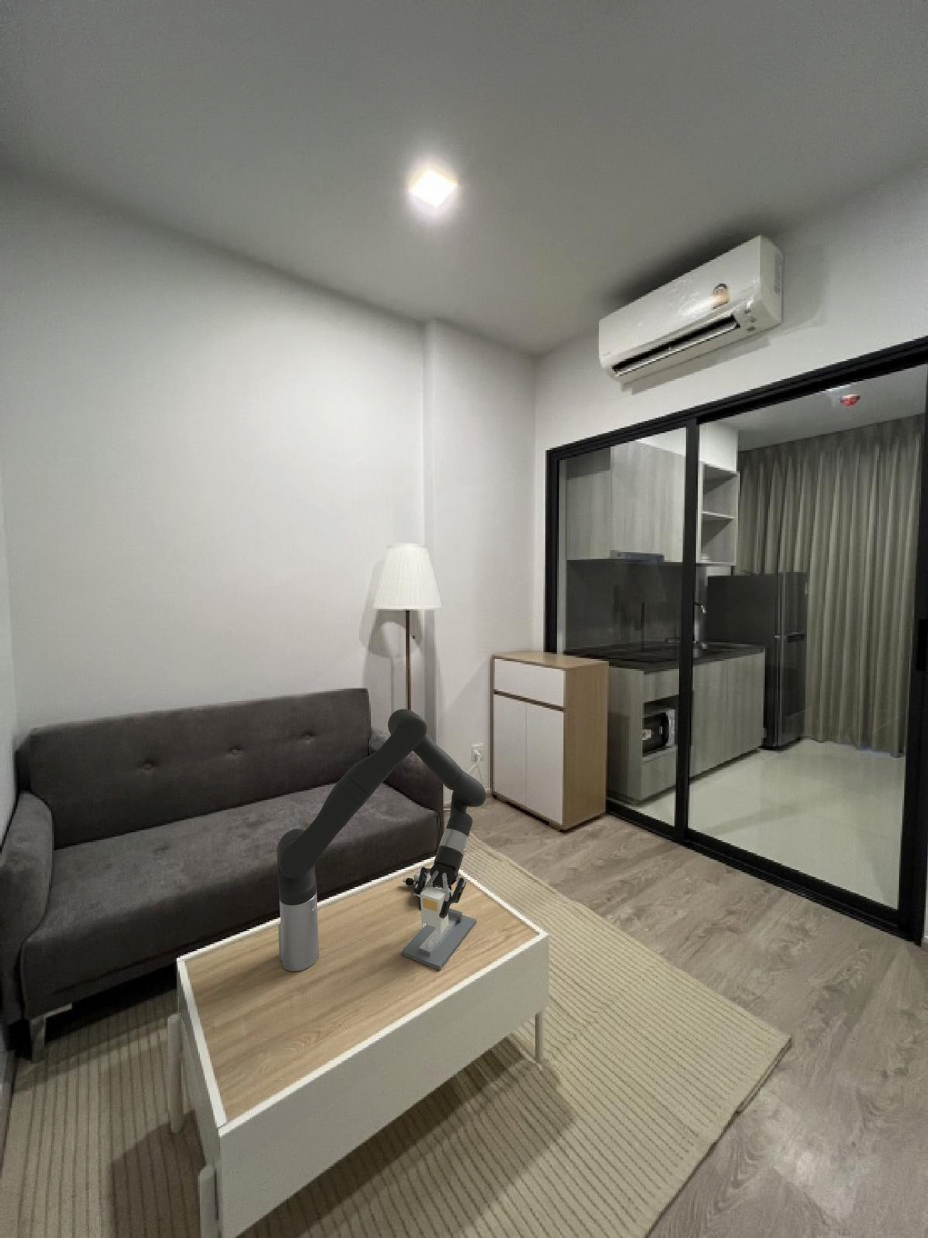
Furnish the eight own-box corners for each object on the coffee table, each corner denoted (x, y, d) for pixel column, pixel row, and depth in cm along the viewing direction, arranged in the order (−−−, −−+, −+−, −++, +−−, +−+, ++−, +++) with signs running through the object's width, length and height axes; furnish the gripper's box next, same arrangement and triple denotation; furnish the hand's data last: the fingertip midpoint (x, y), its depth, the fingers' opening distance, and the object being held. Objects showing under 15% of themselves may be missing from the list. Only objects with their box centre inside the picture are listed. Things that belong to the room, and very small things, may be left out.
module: (421, 928, 130) (419, 894, 130) (429, 918, 134) (428, 885, 133) (440, 934, 127) (439, 900, 127) (448, 925, 131) (447, 891, 130)
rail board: (401, 954, 127) (401, 951, 127) (440, 910, 145) (440, 907, 145) (440, 970, 122) (440, 966, 122) (476, 922, 139) (476, 919, 139)
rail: (416, 950, 127) (416, 941, 127) (447, 914, 142) (446, 906, 141) (433, 956, 125) (432, 947, 125) (462, 920, 139) (462, 912, 139)
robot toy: (400, 889, 158) (421, 910, 145) (399, 875, 158) (420, 894, 146) (433, 876, 165) (456, 895, 152) (432, 863, 165) (455, 881, 152)
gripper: (425, 839, 140) (402, 903, 130) (469, 850, 133) (448, 918, 123) (435, 848, 145) (414, 910, 135) (478, 859, 138) (459, 925, 128)
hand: (431, 914), depth 129 cm, fingers closed on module, 6 cm apart
